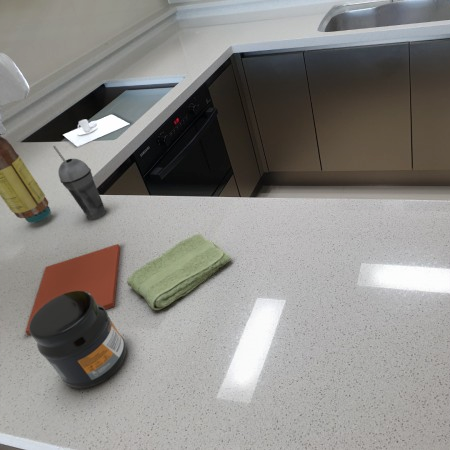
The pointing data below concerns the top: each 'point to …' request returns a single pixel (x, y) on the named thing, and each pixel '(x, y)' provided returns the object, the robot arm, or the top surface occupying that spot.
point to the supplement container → (78, 339)
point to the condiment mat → (81, 278)
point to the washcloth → (177, 271)
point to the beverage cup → (81, 186)
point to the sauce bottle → (19, 184)
